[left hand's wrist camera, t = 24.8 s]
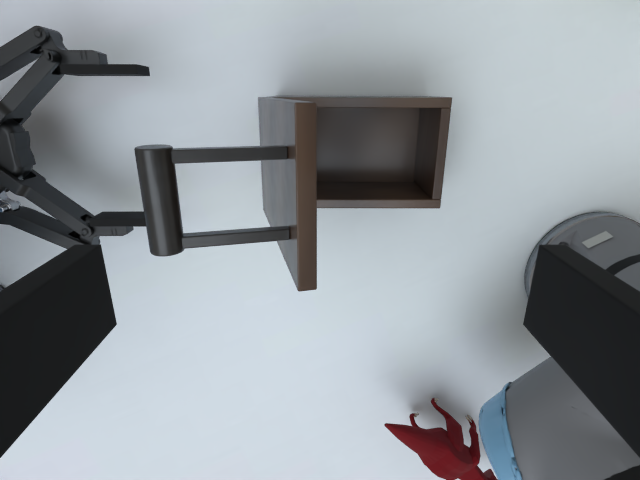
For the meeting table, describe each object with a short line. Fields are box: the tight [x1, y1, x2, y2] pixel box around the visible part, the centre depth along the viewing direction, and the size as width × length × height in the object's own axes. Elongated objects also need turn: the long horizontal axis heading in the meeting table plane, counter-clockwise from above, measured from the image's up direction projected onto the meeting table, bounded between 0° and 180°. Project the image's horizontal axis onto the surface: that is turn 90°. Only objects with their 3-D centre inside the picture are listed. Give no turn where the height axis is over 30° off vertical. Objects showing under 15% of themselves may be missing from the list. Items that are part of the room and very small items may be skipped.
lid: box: [134, 97, 317, 291], centre depth 28 cm, size 17×10×9 cm
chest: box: [271, 96, 452, 208], centre depth 41 cm, size 16×10×9 cm, turn 90°
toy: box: [385, 398, 498, 480], centre depth 51 cm, size 7×25×15 cm
